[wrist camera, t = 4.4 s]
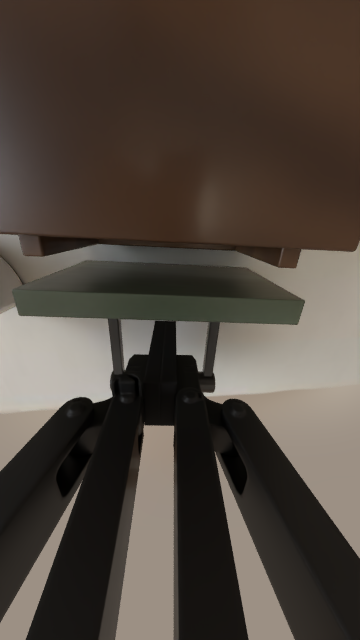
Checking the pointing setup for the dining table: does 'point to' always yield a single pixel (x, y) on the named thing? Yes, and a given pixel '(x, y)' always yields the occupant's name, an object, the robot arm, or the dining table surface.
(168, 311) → the drawer
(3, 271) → the eye dropper bottle
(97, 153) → the cabinet
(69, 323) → the dining table surface
